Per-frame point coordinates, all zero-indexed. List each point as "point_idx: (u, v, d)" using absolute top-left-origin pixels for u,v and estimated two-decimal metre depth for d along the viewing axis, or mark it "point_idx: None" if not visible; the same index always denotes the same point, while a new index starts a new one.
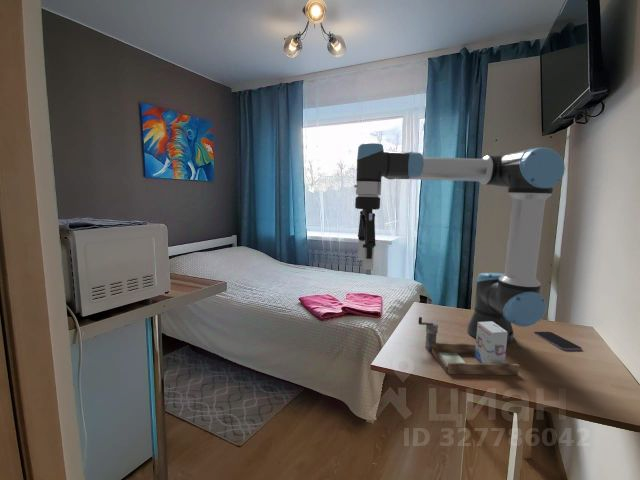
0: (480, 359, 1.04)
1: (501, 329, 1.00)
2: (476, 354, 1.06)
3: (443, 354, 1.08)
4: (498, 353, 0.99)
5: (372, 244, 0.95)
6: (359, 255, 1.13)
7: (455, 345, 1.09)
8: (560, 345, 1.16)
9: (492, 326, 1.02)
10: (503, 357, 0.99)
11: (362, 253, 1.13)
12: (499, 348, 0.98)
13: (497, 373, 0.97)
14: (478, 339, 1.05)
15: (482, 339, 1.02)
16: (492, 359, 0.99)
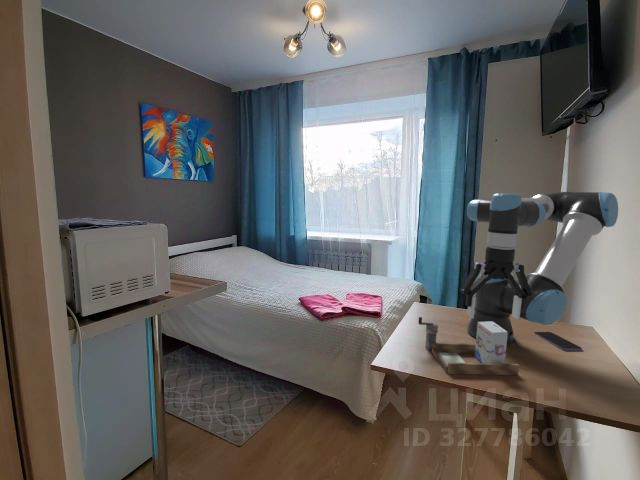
0: (480, 359, 1.04)
1: (501, 329, 1.00)
2: (476, 354, 1.06)
3: (443, 354, 1.08)
4: (498, 353, 0.99)
5: (462, 291, 1.00)
6: (513, 311, 1.02)
7: (455, 345, 1.09)
8: (560, 345, 1.16)
9: (492, 326, 1.02)
10: (503, 357, 0.99)
11: (515, 310, 1.01)
12: (499, 348, 0.98)
13: (497, 373, 0.97)
14: (478, 339, 1.05)
15: (482, 339, 1.02)
16: (492, 359, 0.99)
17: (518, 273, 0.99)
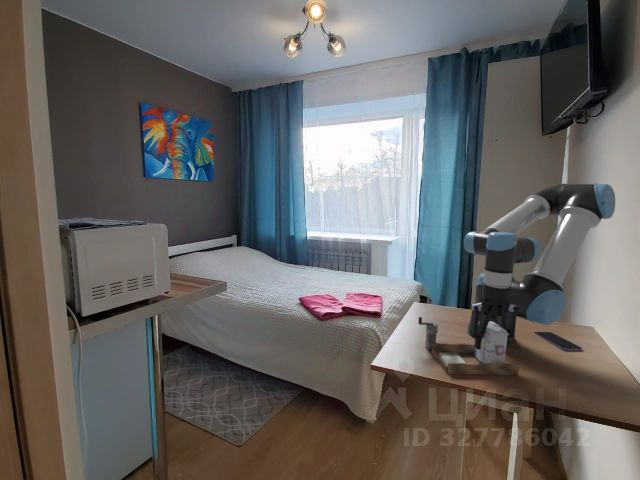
0: None
1: (501, 329, 1.00)
2: None
3: (443, 354, 1.08)
4: (498, 353, 0.99)
5: (471, 334, 1.02)
6: None
7: (455, 345, 1.09)
8: (560, 345, 1.16)
9: (492, 326, 1.02)
10: (503, 357, 0.99)
11: None
12: (499, 348, 0.98)
13: (497, 373, 0.97)
14: None
15: None
16: (492, 359, 0.99)
17: (510, 313, 1.01)
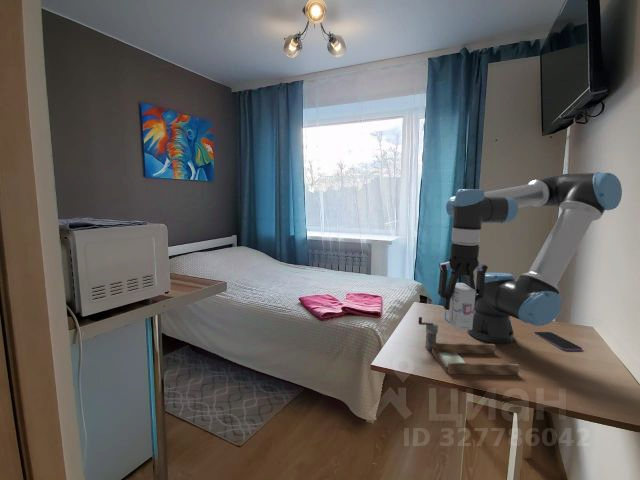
0: None
1: (470, 288, 0.98)
2: None
3: (443, 354, 1.08)
4: (465, 312, 0.97)
5: (440, 294, 1.00)
6: None
7: (455, 345, 1.09)
8: (560, 345, 1.16)
9: (461, 286, 1.00)
10: (471, 316, 0.97)
11: None
12: (466, 307, 0.96)
13: (497, 373, 0.97)
14: None
15: None
16: (460, 318, 0.97)
17: (479, 273, 0.99)
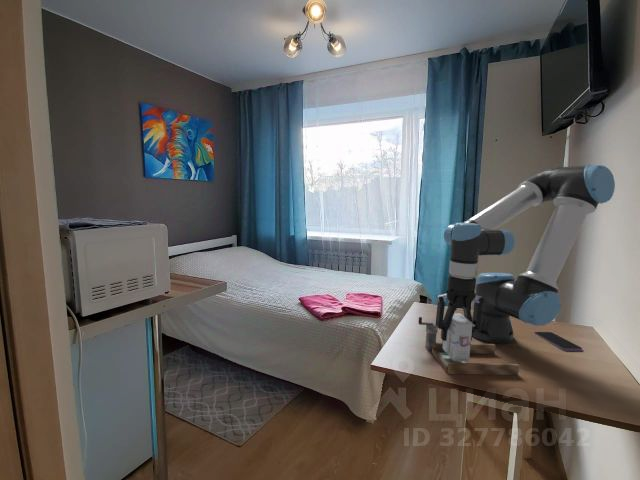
0: None
1: (466, 320, 0.99)
2: None
3: (443, 354, 1.08)
4: (462, 344, 0.98)
5: (437, 325, 1.01)
6: None
7: None
8: (560, 345, 1.16)
9: (458, 317, 1.01)
10: (468, 348, 0.98)
11: None
12: (463, 339, 0.98)
13: (497, 373, 0.97)
14: None
15: None
16: (456, 350, 0.98)
17: (476, 304, 1.01)
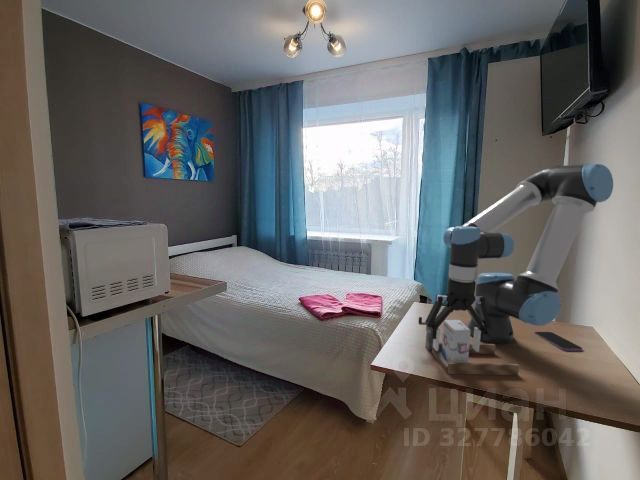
0: (445, 357, 1.04)
1: (465, 327, 0.99)
2: (442, 352, 1.06)
3: None
4: (460, 351, 0.98)
5: (427, 324, 1.01)
6: (473, 343, 1.04)
7: None
8: (560, 345, 1.16)
9: (457, 324, 1.02)
10: (466, 355, 0.99)
11: (475, 342, 1.03)
12: (461, 346, 0.98)
13: (497, 373, 0.97)
14: (444, 337, 1.05)
15: (447, 337, 1.02)
16: (455, 357, 0.99)
17: (479, 305, 1.01)
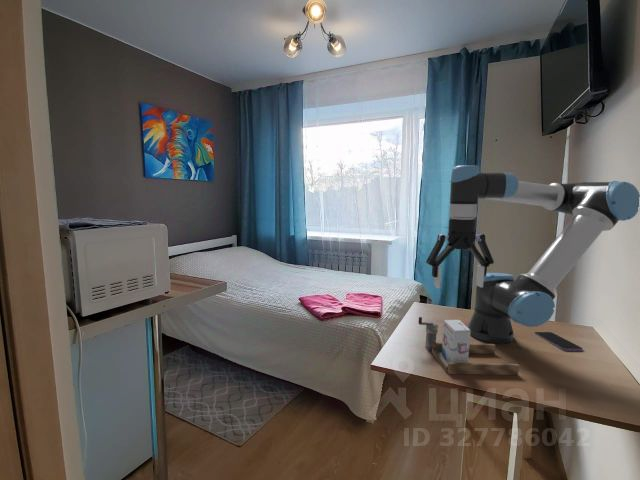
0: (445, 357, 1.04)
1: (465, 327, 0.99)
2: (442, 352, 1.06)
3: None
4: (460, 351, 0.98)
5: (428, 262, 1.03)
6: (477, 280, 1.06)
7: None
8: (561, 345, 1.15)
9: (457, 324, 1.02)
10: (466, 355, 0.99)
11: (478, 279, 1.05)
12: (461, 346, 0.98)
13: (497, 373, 0.97)
14: (444, 337, 1.05)
15: (447, 337, 1.02)
16: (455, 357, 0.99)
17: (480, 243, 1.03)
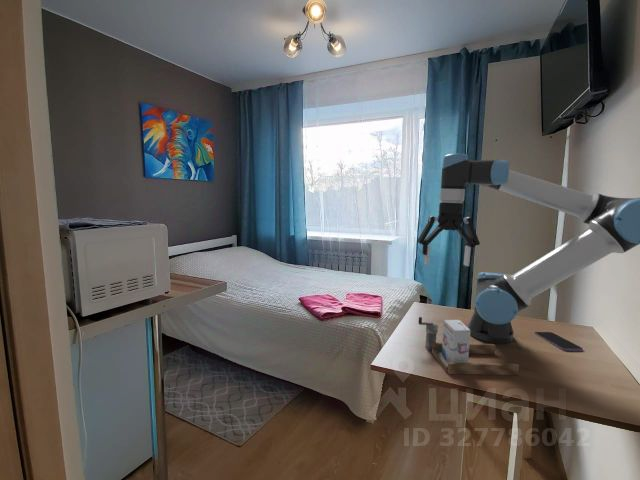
0: (445, 357, 1.04)
1: (465, 327, 0.99)
2: (442, 352, 1.06)
3: None
4: (460, 351, 0.98)
5: (418, 241, 1.14)
6: (464, 260, 1.16)
7: None
8: (561, 345, 1.15)
9: (457, 324, 1.02)
10: (466, 355, 0.99)
11: (465, 258, 1.15)
12: (461, 346, 0.98)
13: (497, 373, 0.97)
14: (444, 337, 1.05)
15: (447, 337, 1.02)
16: (455, 357, 0.99)
17: (467, 225, 1.14)
